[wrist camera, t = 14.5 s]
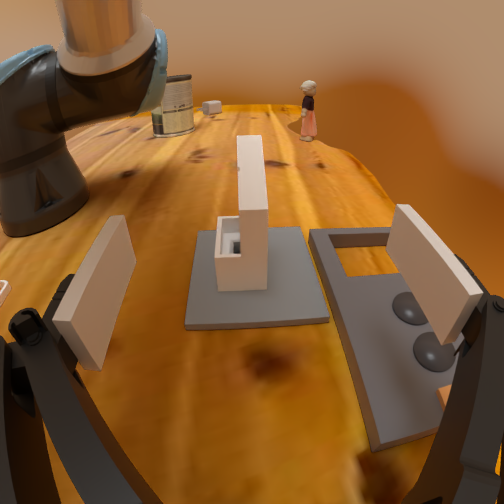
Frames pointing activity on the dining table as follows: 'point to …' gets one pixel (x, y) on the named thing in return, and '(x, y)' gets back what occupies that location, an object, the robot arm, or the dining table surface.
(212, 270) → the rubber mat
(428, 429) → the grey control panel
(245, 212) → the white wedge bracket
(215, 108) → the usb wall charger
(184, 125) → the coffee can
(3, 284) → the phone case
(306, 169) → the dining table surface
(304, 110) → the grandmother figurine
